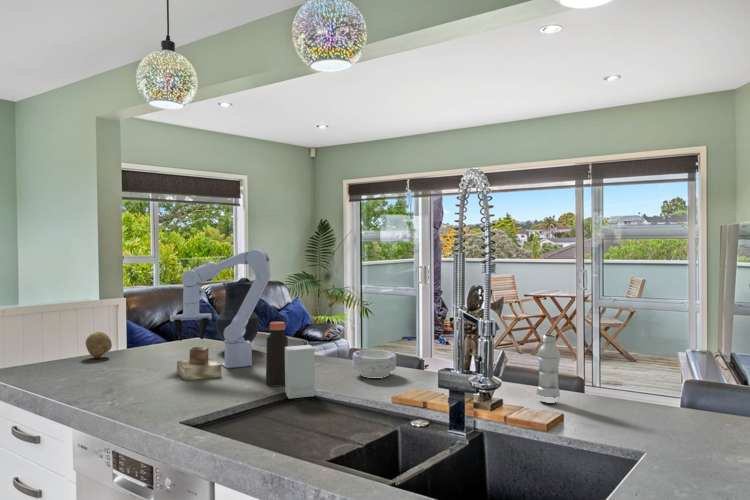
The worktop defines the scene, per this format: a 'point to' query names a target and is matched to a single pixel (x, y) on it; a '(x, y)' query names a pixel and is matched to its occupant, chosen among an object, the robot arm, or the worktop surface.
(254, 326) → the pitcher
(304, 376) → the skincare box
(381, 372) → the grey stone bowl
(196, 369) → the birch pedestal
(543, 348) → the plastic bottle
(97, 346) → the natural sponge
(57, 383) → the worktop surface
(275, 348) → the vinegar
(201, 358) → the walnut cube
